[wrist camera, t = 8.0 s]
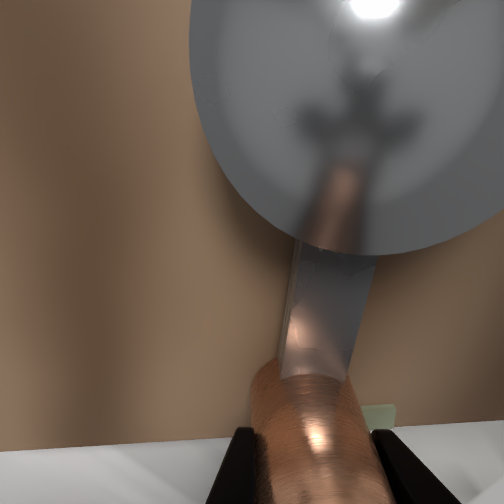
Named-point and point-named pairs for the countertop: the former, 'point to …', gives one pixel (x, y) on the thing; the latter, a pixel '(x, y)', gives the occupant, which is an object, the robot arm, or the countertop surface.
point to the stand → (184, 256)
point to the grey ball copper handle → (345, 188)
